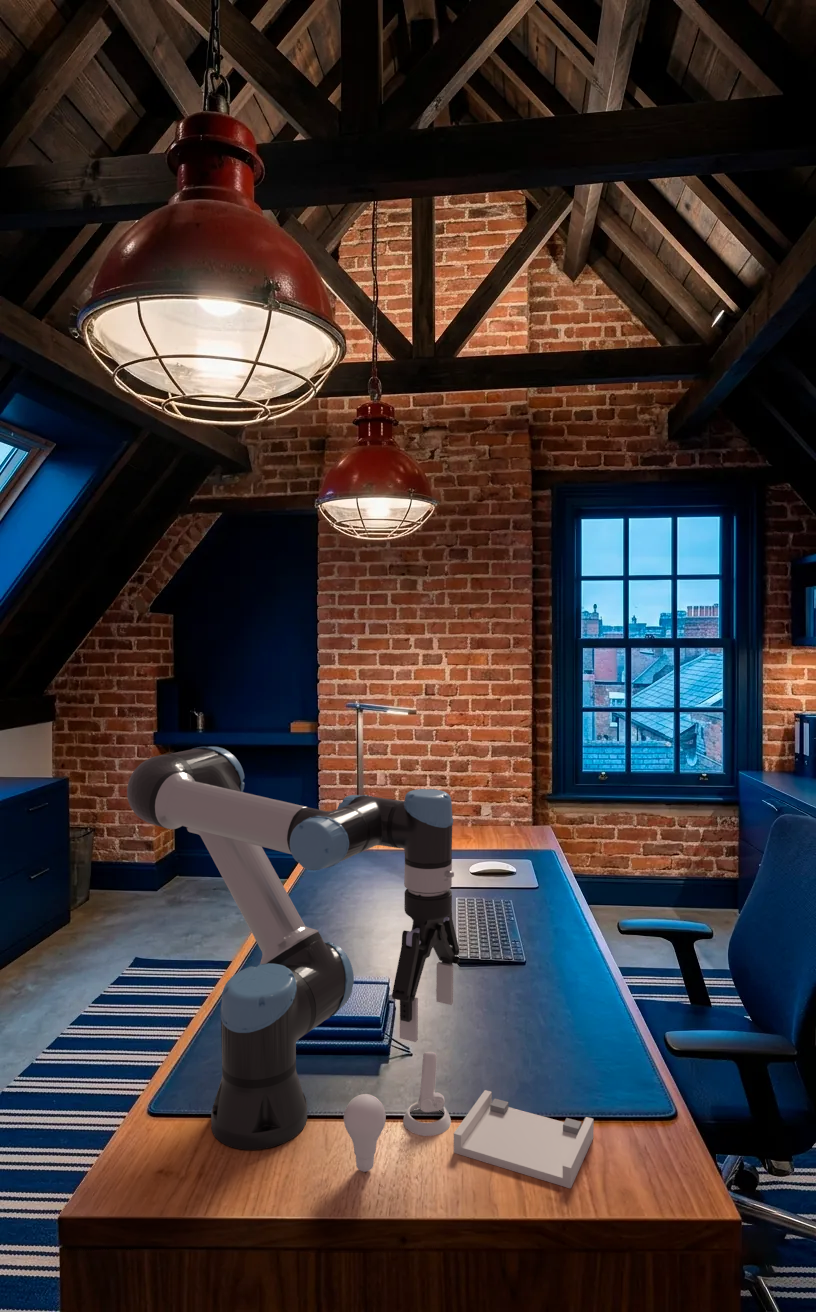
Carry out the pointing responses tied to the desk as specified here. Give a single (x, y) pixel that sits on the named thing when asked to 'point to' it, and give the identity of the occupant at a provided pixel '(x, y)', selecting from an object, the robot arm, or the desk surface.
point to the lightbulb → (364, 1127)
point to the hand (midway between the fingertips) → (427, 1020)
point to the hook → (428, 1102)
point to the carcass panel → (524, 1141)
